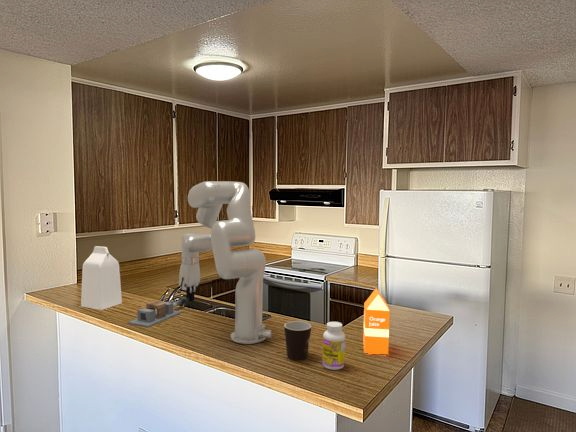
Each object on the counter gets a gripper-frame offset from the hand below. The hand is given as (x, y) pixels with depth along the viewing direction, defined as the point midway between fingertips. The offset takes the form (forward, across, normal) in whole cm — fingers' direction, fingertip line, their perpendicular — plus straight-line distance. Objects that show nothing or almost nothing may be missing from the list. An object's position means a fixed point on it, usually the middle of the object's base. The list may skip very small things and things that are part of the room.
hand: (190, 300), depth 185 cm
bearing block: (+1, +22, 0) cm, 23 cm away
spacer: (+1, +22, 0) cm, 23 cm away
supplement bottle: (+2, +34, +78) cm, 85 cm away
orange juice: (+2, +16, +87) cm, 89 cm away
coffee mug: (+2, +31, +66) cm, 73 cm away
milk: (+2, +19, -34) cm, 39 cm away
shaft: (0, +11, 0) cm, 11 cm away
